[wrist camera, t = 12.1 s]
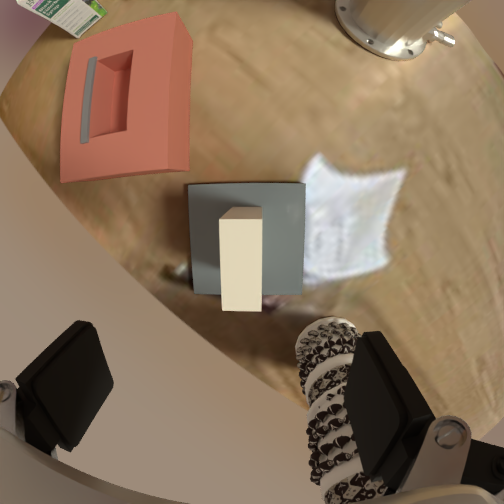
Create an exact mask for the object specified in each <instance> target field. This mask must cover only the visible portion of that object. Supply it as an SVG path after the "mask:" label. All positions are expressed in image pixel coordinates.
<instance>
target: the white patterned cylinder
mask: <svg viewBox="0 0 504 504" xmlns="http://www.w3.org/2000/svg"><path fill="white" fill-rule="evenodd" d="M358 337H362V336H361V335H360V334H359V333H358V331H357V329H356V328H355V326H354V324H352V323H351V322H349V321H348V320H346V319H345V318H339V317H333V316H332V317H327V318H322V319H318V320H317V321H315V322H313V323H311V324H310V325H308V326H307V327H306V328H305V329H304V330H303V331H302V332H301V333H300V335H299V336H298V339H297V342H296V345H295V349H296V359H297V360H299V361H300V362H299V363H297V367H298V368H300V372H299V377H300V378H301V379H302V380H301V382H300V385H301V387H302V388H303V390H302V392H303V394H304V395H306V400H307V404H308V405H309V406H310V409H309V411H308V413H307V421H308V427H309V428H308V429H307V430H306V433H307V435H309V444H308V448H309V449H310V450H312V452H313V453H312V454H311V456H310V460H309V465H310V466H311V467H312V469H313V470H312V472H311V478H310V480H311V482H314V483H315V484H316V485H319V486H320V487H321V495H322V500H324V501H325V503H326V504H348V503H354V502H359V501H364V500H369V499H373V498H378V497H380V496H381V494H382V493H383V491H384V489H385V488H386V486H384V483H383V480H380V481H376V482H372V483H371V480H370V476H365V474H364V472H363V468H362V464H361V460H360V457H359V453H358V449H357V446H356V442H355V438H354V435H353V431H352V428H351V424H350V421H349V417H348V414H347V410H346V407H345V404H344V391H345V388H346V384H347V380H348V376H349V372H350V368H351V364H352V360H353V355H354V351H355V346H356V342H357V339H358ZM315 444H316V445H315ZM319 461H320V463H319ZM322 475H323V477H322Z"/></svg>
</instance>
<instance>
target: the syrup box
mask: <svg viewBox="0 0 504 504" xmlns="http://www.w3.org/2000/svg"><path fill="white" fill-rule="evenodd" d="M16 1H17V4H18V5H20V6H22V7H24V8H26V9H27V10H29V11H31V12H33V13H35V14H37V15H39V16H41V17H43V18H45V19H47V20H48V21H50V22H52V23H54V24H55V25H57V26H59V27H61V28H62V29H64V30H65V31H67V32H68V33H70V34H71V35H73V36H74V37H76V38H80V37H81V35H82V34H83V33H84V32H85V31H87V30H88V29H89V28H90V27H91V26H92V25H93V24H94V23H96V22H97V21H98V20H99V19H100V18H102V17H103V16H104V15H106V14H107V11H106V10H105V9H104V8H103V7H102V6H101V5H100V4H99V2H98V1H97V0H16Z"/></svg>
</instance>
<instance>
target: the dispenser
mask: <svg viewBox="0 0 504 504" xmlns="http://www.w3.org/2000/svg"><path fill="white" fill-rule="evenodd" d="M192 49H193V40H192V38H191V37H190V35H189V33H188V31H187V29H186V27H185V26H184V24H183V22H182V20H181V18H180V17H179V15H178V13H177V12H172V13H167V14H162V15H158V16H154V17H149V18H145V19H142V20H138V21H134V22H131V23H128V24H124V25H121V26H118V27H115V28H112V29H109V30H106V31H103V32H101V33H98V34H95V35H93V36H90V37H88V38H85V39H83V40H81V41H78V42H76V43H74V46H73V50H72V55H71V59H70V64H69V70H68V75H67V81H66V88H65V95H64V103H63V113H62V125H61V144H60V182H61V183H68V182H80V181H95V180H103V179H110V178H118V177H126V176H135V175H145V174H155V173H167V172H181V171H190V167H189V122H190V85H191V65H192Z"/></svg>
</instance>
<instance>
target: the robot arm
mask: <svg viewBox="0 0 504 504" xmlns="http://www.w3.org/2000/svg"><path fill="white" fill-rule="evenodd" d="M470 1H471V0H336V2H335V13H336V16H337V19H338V21H339V22H340V24H341V26H342V27H343V28H344V30H345V31H346V32H347V33H348V34H349V35H350V36H351V37H352V38H353V39H354V40H355V41H356V42H357V43H359V44H360V45H361V46H363V47H364V48H366V49H367V50H369V51H371V52H372V53H375V54H377V55H379V56H381V57H384V58H387V59H390V60H396V61H408V60H412V59H414V58H416V57H417V56H419V55H420V54H421V53H422V52H423V51H424V49H425V47H426V41H427V40H429V41H432V42H433V41H435V40H436V41H438V42H439V43H441V44H444V45H446V46H448V47H453V46H454V44H455V40H454V37H453V36H451V35H449V34H447V33H445V32H442V31H439V30H437V29H436V27H437V28H441V27H442V21H443V20H445V19H446V18H448V17H449V16H450V15H452V14H453V13H454V12H456V11H457V10H459V9H460V8H461V7H463V6H464V5H466V4H467V3H469V2H470ZM16 381H17V383H18V385H19V388H18V389H17V388H16V386H15V385H14V383H12V382H11V381H7V380H3V381H0V504H188V503H182V502H177V501H172V500H167V499H163V498H159V497H155V496H150V495H147V494H143V493H139V492H136V491H133V490H129V489H126V488H123V487H120V486H117V485H114V484H111V483H109V482H106V481H104V480H101V479H98V478H96V477H93V476H91V475H88V474H86V473H84V472H81V471H79V470H77V469H75V468H73V467H71V466H68V465H66V464H64V463H62V462H60V461H58V457H57V453H56V448H55V446H56V445H57V444H58V445H59V447H60V448H62V449H64V450H66V451H69V452H71V451H72V450H73V448H74V447H76V446H77V445H78V444H79V442H80V441H81V439H82V437H83V436H84V434H85V432H86V431H87V429H88V427H89V426H90V424H91V422H92V420H93V419H94V417H95V416H96V414H97V412H98V411H99V409H100V408H101V406H102V404H103V403H104V401H105V400H106V398H107V396H108V395H109V393H110V392H111V390H112V388H113V384H114V382H113V378H112V376H111V373H110V370H109V367H108V365H107V362H106V359H105V356H104V353H103V350H102V347H101V344H100V341H99V337H98V334H97V331H96V328H95V327H93V325H92V323H90V322H86V321H80V320H78V321H76V322H74V324H72V325H71V326H70V327H69V328H68V329H67V330H65V331H64V332H63V333H62V334H61V335H60V336H59V337H58V338H57V339H56V340H55V341H54V342H52V343H51V344H50V345H49V346H48V347H47V348H46V349H45V350H44V351H43V352H42V353H41V354H40V355H39V356H38V357H37V358H36V359H35V360H34V361H33V362H32V363H30V365H28V366H27V367H26V369H24V370H23V371H22V373H20V375H18V376H17V378H16ZM344 404H345V407H346V410H347V414H348V417H349V421H350V424H351V428H352V431H353V435H354V438H355V442H356V446H357V449H358V453H359V457H360V460H361V464H362V468H363V472H364V474H365V476H370V480H371V483H372V482H376V481H380V480H383V483H384V486H386V488H385V489H384V491H383V493H382V494H381V496H380V497H378V498H373V499H369V500H364V501H359V502H354V503H348V504H504V448H503V447H499V446H495V445H491V444H488V443H484V442H481V441H477V440H474V439H471V430H470V427H469V426H468V424H467V423H466V422H465V421H464V420H462V419H461V418H458V417H456V416H450V415H447V416H441V417H439V418H437V419H436V418H435V416H434V414H433V413H432V411H431V409H430V407H429V406H428V404H427V402H426V401H425V399H424V397H423V396H422V394H421V392H420V391H419V389H418V387H417V386H416V384H415V382H414V381H413V379H412V377H411V376H410V374H409V373H408V371H407V369H406V368H405V367H404V366H403V365H402V363H401V362H400V360H399V359H398V357H397V355H396V354H395V352H394V351H393V349H392V348H391V346H390V345H389V343H388V342H387V340H386V339H385V337H384V336H383V334H382V333H381V332H380V331H373V332H364V333H363V335H362V337H358V339H357V342H356V346H355V351H354V355H353V360H352V364H351V368H350V372H349V376H348V380H347V384H346V388H345V391H344Z"/></svg>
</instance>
